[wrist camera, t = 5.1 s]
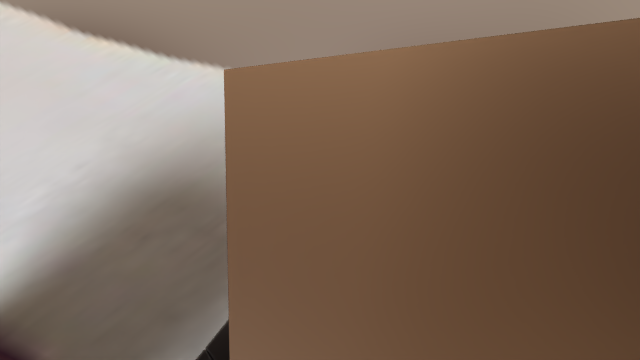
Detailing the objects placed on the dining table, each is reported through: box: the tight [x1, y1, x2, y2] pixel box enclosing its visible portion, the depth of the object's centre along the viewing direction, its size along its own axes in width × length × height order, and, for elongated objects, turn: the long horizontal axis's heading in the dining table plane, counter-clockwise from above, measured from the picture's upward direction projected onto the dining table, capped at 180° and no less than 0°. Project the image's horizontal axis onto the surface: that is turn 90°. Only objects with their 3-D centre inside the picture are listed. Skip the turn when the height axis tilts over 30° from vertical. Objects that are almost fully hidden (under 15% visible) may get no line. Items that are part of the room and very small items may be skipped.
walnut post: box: [224, 18, 640, 360], centre depth 9 cm, size 4×4×13 cm
